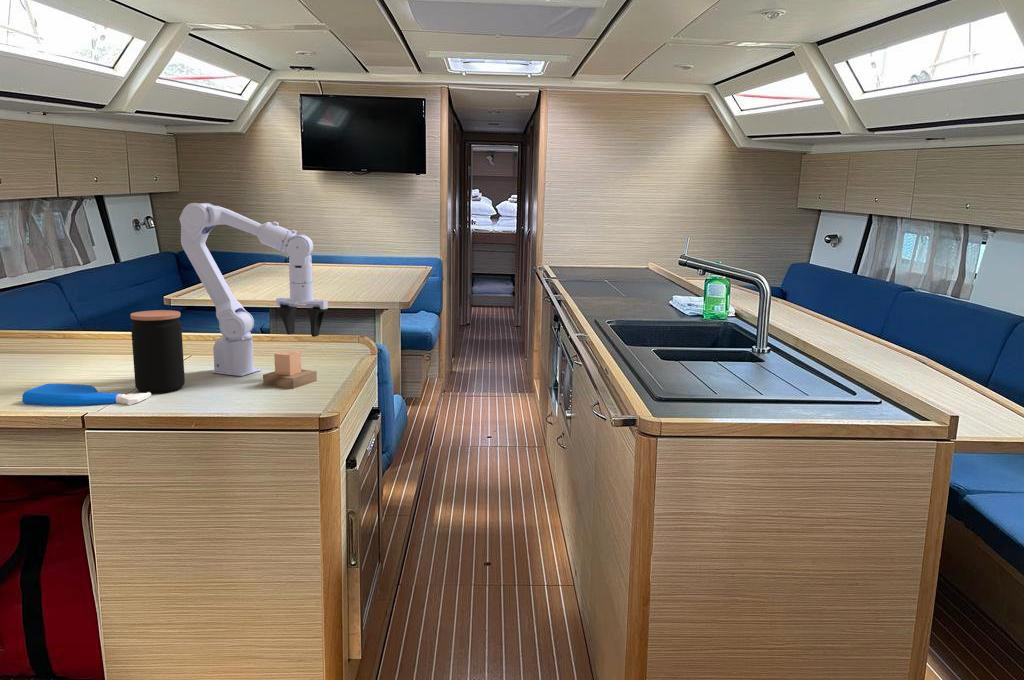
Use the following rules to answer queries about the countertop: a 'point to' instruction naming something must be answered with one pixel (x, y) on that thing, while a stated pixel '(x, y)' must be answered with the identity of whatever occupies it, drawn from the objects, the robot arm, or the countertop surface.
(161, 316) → the coffee jar
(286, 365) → the peach block
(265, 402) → the countertop surface
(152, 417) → the countertop surface
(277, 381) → the walnut box
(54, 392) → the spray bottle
